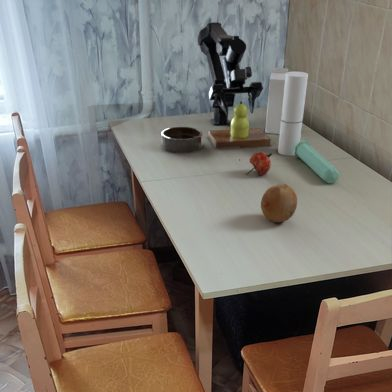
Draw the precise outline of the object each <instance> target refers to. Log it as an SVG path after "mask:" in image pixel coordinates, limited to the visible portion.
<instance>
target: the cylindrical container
mask: <svg viewBox="0 0 392 392" xmlns="http://www.w3.org/2000/svg"><path fill="white" fill-rule="evenodd" d="M308 79H309V73H308V72H304V71H288V72H287V73H286V78H285V87H284V97H283V107H282V117H281V127H280V134H279V136H278V138H279V139H278V147H277V153H278V154H279V155H282V156H286V157H287V156H288V157H289V156H290V157H291V156H296V155H295V154H294V150H295V146H296V145H297V144H298V143H299V142H300V141H301V136H302V127H303V121H304V111H305V105H306V104H305V103H306V96H307V95H306V94H307V87H308Z"/></svg>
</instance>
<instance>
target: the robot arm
mask: <svg viewBox="0 0 392 392" xmlns="http://www.w3.org/2000/svg"><path fill="white" fill-rule="evenodd" d="M197 45H198V46H199V48H200V51H201V53H203V54H204V55H205V56H206V59H207V62H208V68H209V71H210V75H211V79H212V83H213V84H211V86H210V88H209V91H208V97H209V98H208V105H209V106H210V107H211V109H213V116H212V117H213V118H211V119H210V121H211V123H212V124H213V125H214V126H221V125H222V126H223V125H231V121H229V108H233V107H234V104H235V97H236V94H247V96H248V97H247V100H248V106H249V110H250V113H251V114H253V113H254V109H255V103H256V102H255V101H256V100H257V98H259V97H260V96H261V93H262V92H263V89H264V86H263V85H264V84H263V82H261V81H251V82H250V83H249V86H244V85H246V80H248V79H250V78H251V77H252V76H253V71H252V67H251V66H246V67H244V68H241V67H240V63H241V62H242V60H243V58H244V56H245V52H246V51H247V44H246V43H245V40H243V39H241V38H240V36H239V35H230V34H228V33H227V31H226V30H225V29H224V28H223V27H222V23H221V22H219V21H218V22H217V21H215V22H209V23H207V24H206V26H205V27H203V28H202V29H201V30H200V31H199V33H198V35H197ZM221 57H223V58H222V60H221Z"/></svg>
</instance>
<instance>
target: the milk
mask: <svg viewBox="0 0 392 392" xmlns="http://www.w3.org/2000/svg"><path fill="white" fill-rule="evenodd" d="M287 72H289V68H288V67H287V68H285V67H272V68H271V73H270V76H269V81H268V82H269V83H268V84H269V85H268V93H267V94H268V96H267V106H266V119H265V131H264V132H265V133H266V134H275V135H280V127H281V117H282V107H283V97H284V87H285V78H286V73H287Z"/></svg>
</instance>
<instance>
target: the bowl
mask: <svg viewBox="0 0 392 392" xmlns="http://www.w3.org/2000/svg"><path fill="white" fill-rule="evenodd" d="M160 135H161V137H160V138H161V148H162V149H163V150H165V151H167V152H170V153H174V154H175V153H177V154H186V153H187V154H189V153H194V152H197V151H199V150H201V149H202V147H203V132H202V130H200V129H199V128H195V127H190V126H174V127H173V126H172V127H168V128H165V129H164V130H162V131H161V133H160Z"/></svg>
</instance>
